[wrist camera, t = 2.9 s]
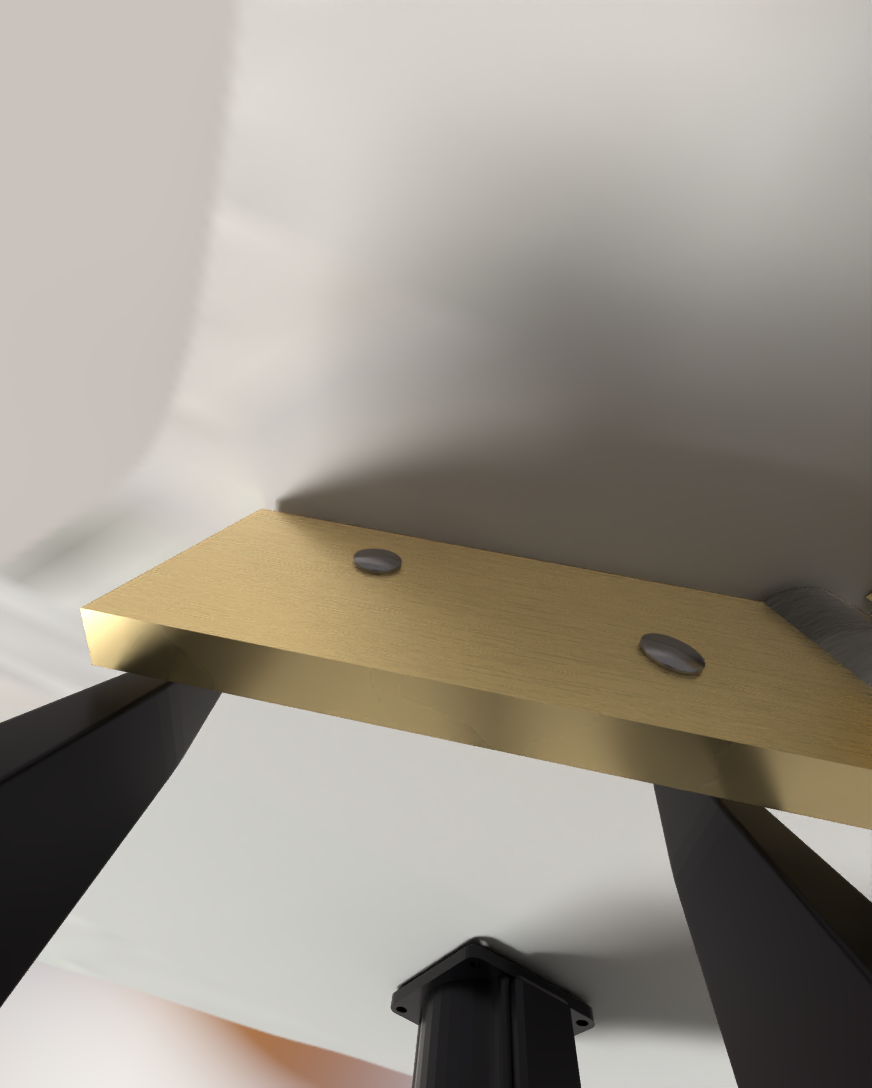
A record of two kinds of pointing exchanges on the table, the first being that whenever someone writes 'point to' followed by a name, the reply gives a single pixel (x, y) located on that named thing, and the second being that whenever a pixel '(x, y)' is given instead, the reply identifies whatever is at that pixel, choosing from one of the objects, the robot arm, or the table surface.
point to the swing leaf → (516, 657)
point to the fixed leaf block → (869, 597)
